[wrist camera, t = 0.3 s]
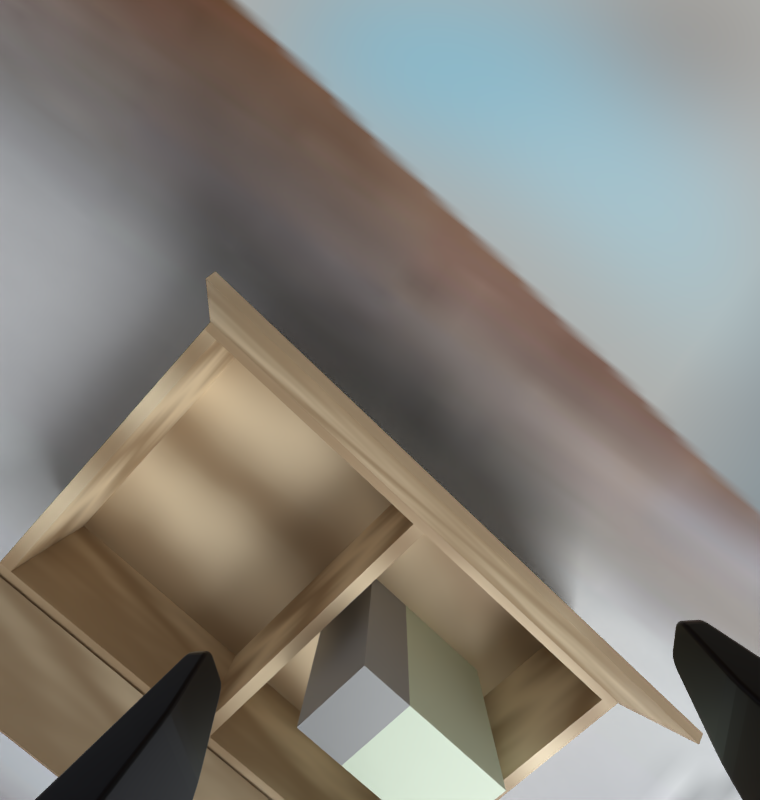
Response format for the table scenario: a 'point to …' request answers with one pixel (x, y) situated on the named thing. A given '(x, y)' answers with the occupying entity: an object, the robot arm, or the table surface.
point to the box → (399, 705)
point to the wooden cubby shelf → (274, 577)
